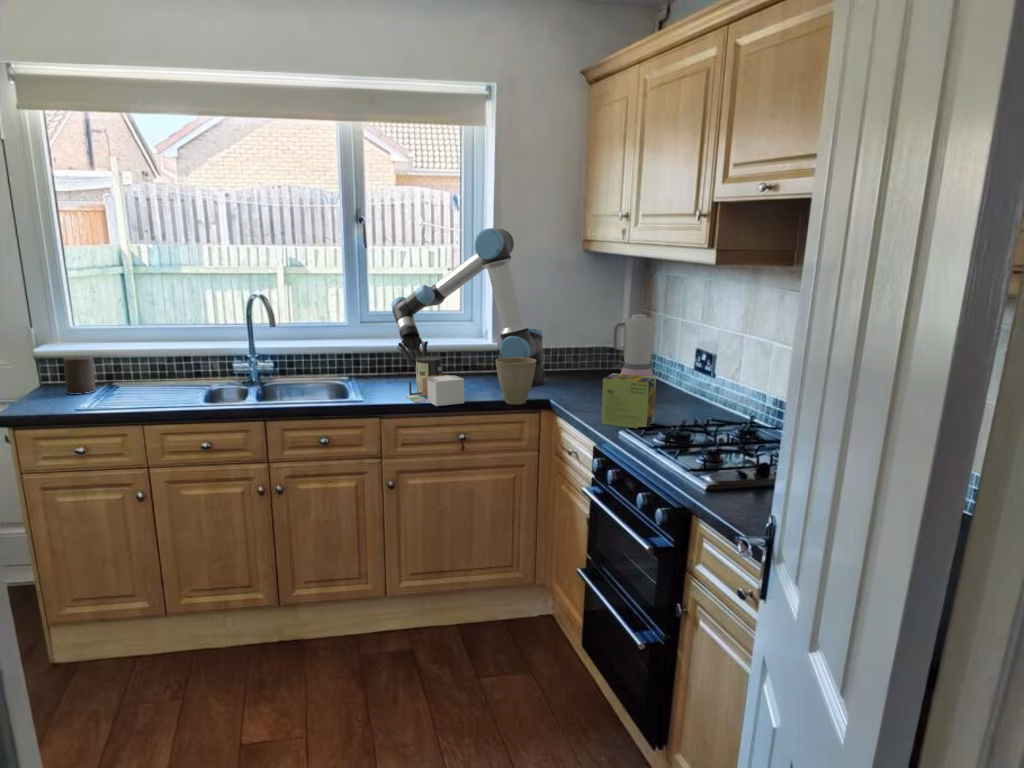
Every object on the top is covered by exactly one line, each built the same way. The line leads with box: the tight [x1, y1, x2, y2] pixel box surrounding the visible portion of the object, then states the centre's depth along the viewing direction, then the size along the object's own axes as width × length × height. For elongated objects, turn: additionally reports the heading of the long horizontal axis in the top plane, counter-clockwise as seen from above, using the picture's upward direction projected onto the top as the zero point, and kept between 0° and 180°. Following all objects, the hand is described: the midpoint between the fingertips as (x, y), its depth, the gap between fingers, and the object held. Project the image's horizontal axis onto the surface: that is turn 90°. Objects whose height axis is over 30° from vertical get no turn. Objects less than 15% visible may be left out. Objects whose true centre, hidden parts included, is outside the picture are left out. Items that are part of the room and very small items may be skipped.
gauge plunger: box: [408, 374, 450, 397], centre depth 261 cm, size 16×8×7 cm, turn 118°
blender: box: [613, 313, 657, 377], centre depth 260 cm, size 16×12×32 cm
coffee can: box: [415, 355, 443, 397], centre depth 270 cm, size 10×10×14 cm
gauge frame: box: [405, 374, 465, 407], centre depth 259 cm, size 16×18×9 cm
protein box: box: [600, 372, 657, 429], centre depth 227 cm, size 10×15×16 cm
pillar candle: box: [62, 354, 96, 393], centre depth 268 cm, size 10×10×15 cm
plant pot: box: [495, 357, 536, 406], centre depth 256 cm, size 15×15×16 cm
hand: (423, 377), depth 275 cm, fingers closed
